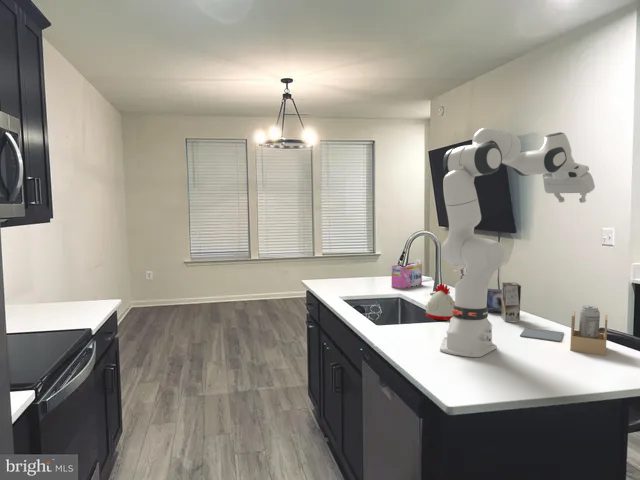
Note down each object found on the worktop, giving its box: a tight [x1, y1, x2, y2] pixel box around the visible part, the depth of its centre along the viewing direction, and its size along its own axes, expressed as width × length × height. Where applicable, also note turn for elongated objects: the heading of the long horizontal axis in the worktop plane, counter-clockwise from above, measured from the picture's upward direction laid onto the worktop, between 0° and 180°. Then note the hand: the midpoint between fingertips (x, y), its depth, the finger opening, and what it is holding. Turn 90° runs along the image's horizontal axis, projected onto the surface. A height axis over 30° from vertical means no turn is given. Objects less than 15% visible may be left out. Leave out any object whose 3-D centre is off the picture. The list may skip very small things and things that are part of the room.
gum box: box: [391, 262, 423, 290], centre depth 294 cm, size 24×8×14 cm, turn 135°
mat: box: [519, 327, 564, 343], centre depth 182 cm, size 14×14×1 cm
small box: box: [487, 288, 502, 314], centre depth 222 cm, size 11×6×10 cm, turn 68°
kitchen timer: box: [425, 283, 455, 321], centre depth 212 cm, size 14×14×15 cm
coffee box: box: [500, 282, 522, 323], centre depth 206 cm, size 9×6×16 cm
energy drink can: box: [578, 305, 601, 339], centre depth 164 cm, size 6×6×15 cm
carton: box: [569, 310, 608, 356], centre depth 164 cm, size 11×11×12 cm
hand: (572, 201), depth 191 cm, fingers open, 8 cm apart
